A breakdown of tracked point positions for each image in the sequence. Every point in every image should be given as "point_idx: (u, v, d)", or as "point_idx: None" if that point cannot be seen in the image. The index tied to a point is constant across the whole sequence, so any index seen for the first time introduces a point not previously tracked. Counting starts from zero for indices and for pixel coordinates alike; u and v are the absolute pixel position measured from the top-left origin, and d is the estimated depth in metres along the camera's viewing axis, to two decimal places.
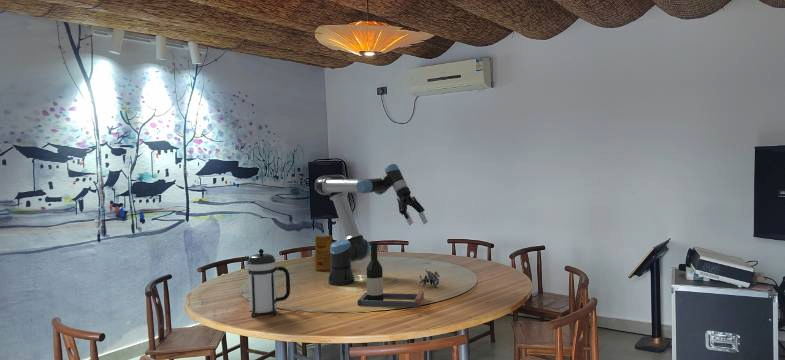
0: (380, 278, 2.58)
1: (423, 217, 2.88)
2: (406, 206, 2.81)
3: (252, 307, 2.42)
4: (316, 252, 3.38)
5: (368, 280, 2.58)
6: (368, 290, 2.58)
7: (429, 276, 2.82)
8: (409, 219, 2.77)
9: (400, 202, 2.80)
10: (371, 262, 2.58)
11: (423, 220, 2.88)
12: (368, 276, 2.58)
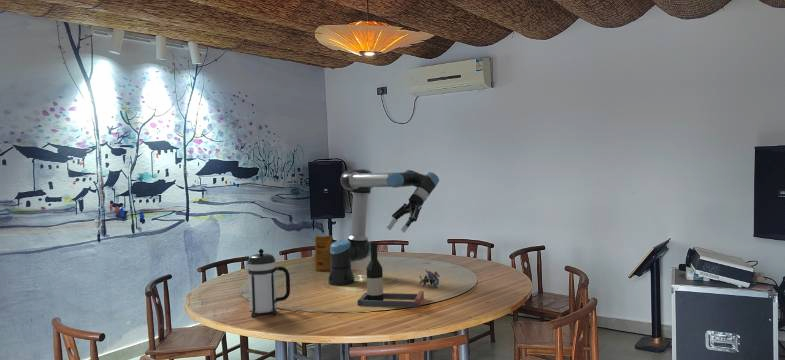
0: (380, 278, 2.58)
1: (392, 224, 2.74)
2: None
3: (252, 307, 2.42)
4: (316, 252, 3.38)
5: (368, 280, 2.58)
6: (368, 290, 2.58)
7: (429, 276, 2.82)
8: (406, 227, 2.62)
9: (418, 211, 2.65)
10: (371, 262, 2.58)
11: (390, 225, 2.73)
12: (368, 276, 2.58)
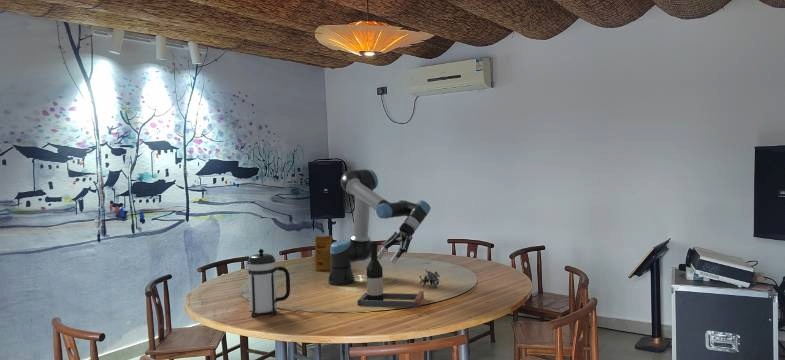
0: (380, 278, 2.58)
1: (382, 253, 2.69)
2: None
3: (252, 307, 2.42)
4: (316, 252, 3.38)
5: (368, 280, 2.58)
6: (368, 290, 2.58)
7: (429, 276, 2.82)
8: (396, 259, 2.57)
9: (409, 242, 2.60)
10: (371, 262, 2.58)
11: (380, 255, 2.68)
12: (368, 276, 2.58)
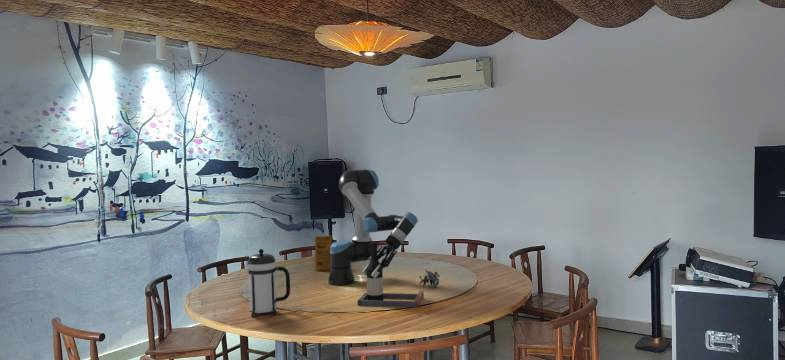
0: (380, 278, 2.58)
1: None
2: None
3: (252, 307, 2.42)
4: (316, 252, 3.38)
5: (368, 280, 2.58)
6: (368, 290, 2.58)
7: (429, 276, 2.82)
8: (377, 273, 2.55)
9: (392, 256, 2.57)
10: (371, 262, 2.58)
11: (366, 270, 2.62)
12: (368, 276, 2.58)
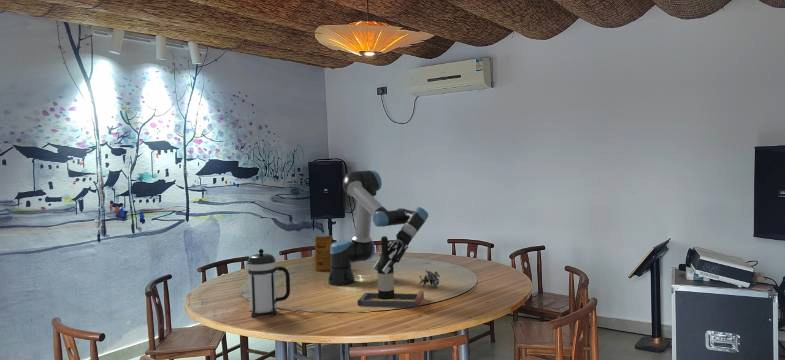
0: (391, 273, 2.56)
1: None
2: None
3: (252, 307, 2.42)
4: (316, 252, 3.38)
5: (379, 276, 2.56)
6: (379, 286, 2.56)
7: (429, 276, 2.82)
8: (388, 269, 2.53)
9: (403, 251, 2.55)
10: (382, 257, 2.56)
11: None
12: (379, 272, 2.56)
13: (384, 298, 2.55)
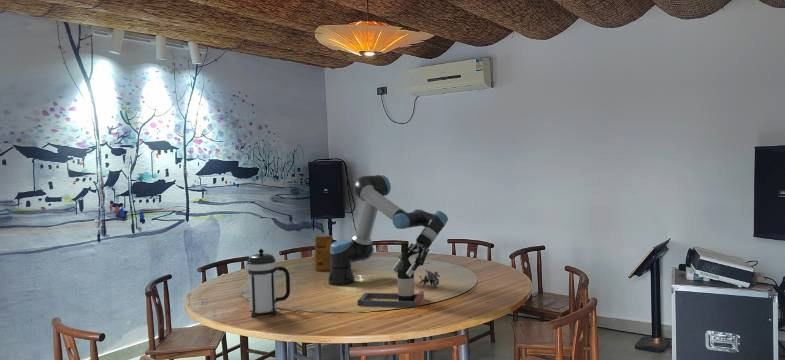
0: (411, 278, 2.55)
1: None
2: None
3: (252, 307, 2.42)
4: (316, 252, 3.38)
5: (399, 281, 2.55)
6: (399, 291, 2.55)
7: (429, 276, 2.82)
8: (412, 272, 2.51)
9: (425, 254, 2.54)
10: (402, 262, 2.55)
11: (396, 267, 2.61)
12: (399, 276, 2.55)
13: None
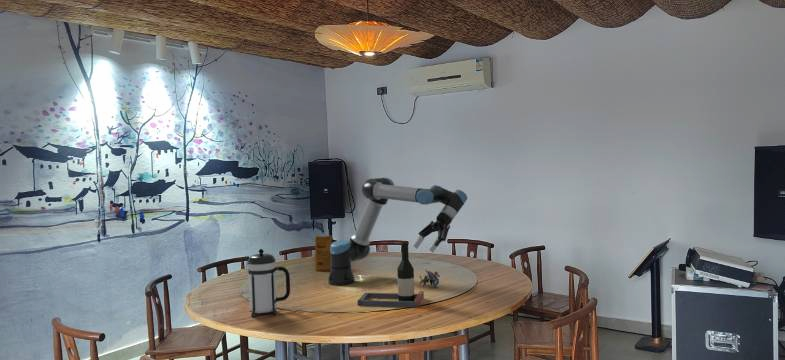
0: (411, 278, 2.55)
1: (419, 242, 2.69)
2: None
3: (252, 307, 2.42)
4: (316, 252, 3.38)
5: (399, 281, 2.55)
6: (399, 291, 2.55)
7: (429, 276, 2.82)
8: (434, 247, 2.57)
9: (447, 231, 2.60)
10: (402, 262, 2.55)
11: (417, 243, 2.68)
12: (399, 276, 2.55)
13: None
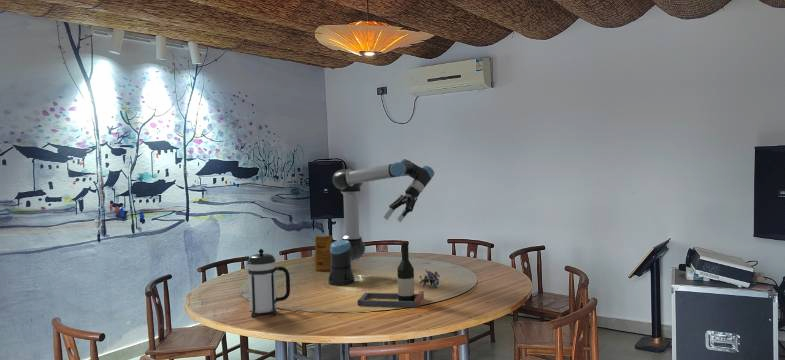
0: (411, 278, 2.55)
1: (389, 214, 2.90)
2: None
3: (252, 307, 2.42)
4: (316, 252, 3.38)
5: (399, 281, 2.55)
6: (399, 291, 2.55)
7: (429, 276, 2.82)
8: (402, 217, 2.78)
9: (414, 202, 2.81)
10: (402, 262, 2.55)
11: (387, 215, 2.89)
12: (399, 276, 2.55)
13: None
